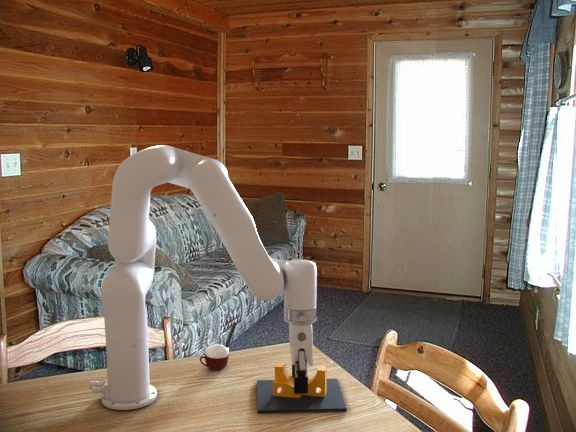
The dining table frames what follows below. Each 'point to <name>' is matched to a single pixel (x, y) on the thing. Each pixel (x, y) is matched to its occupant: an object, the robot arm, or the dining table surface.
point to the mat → (299, 400)
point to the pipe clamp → (285, 382)
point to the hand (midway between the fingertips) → (299, 385)
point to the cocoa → (218, 353)
